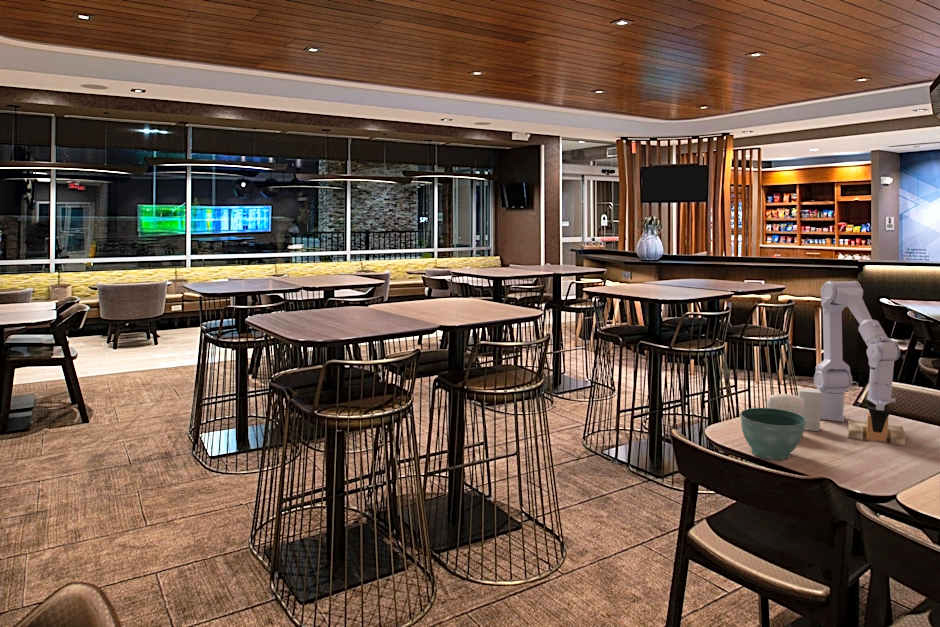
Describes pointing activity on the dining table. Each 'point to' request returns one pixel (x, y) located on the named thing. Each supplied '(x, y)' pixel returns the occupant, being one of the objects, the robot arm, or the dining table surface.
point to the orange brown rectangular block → (876, 435)
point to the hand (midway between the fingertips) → (876, 428)
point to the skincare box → (811, 408)
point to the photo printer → (786, 403)
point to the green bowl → (772, 431)
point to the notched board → (859, 428)
